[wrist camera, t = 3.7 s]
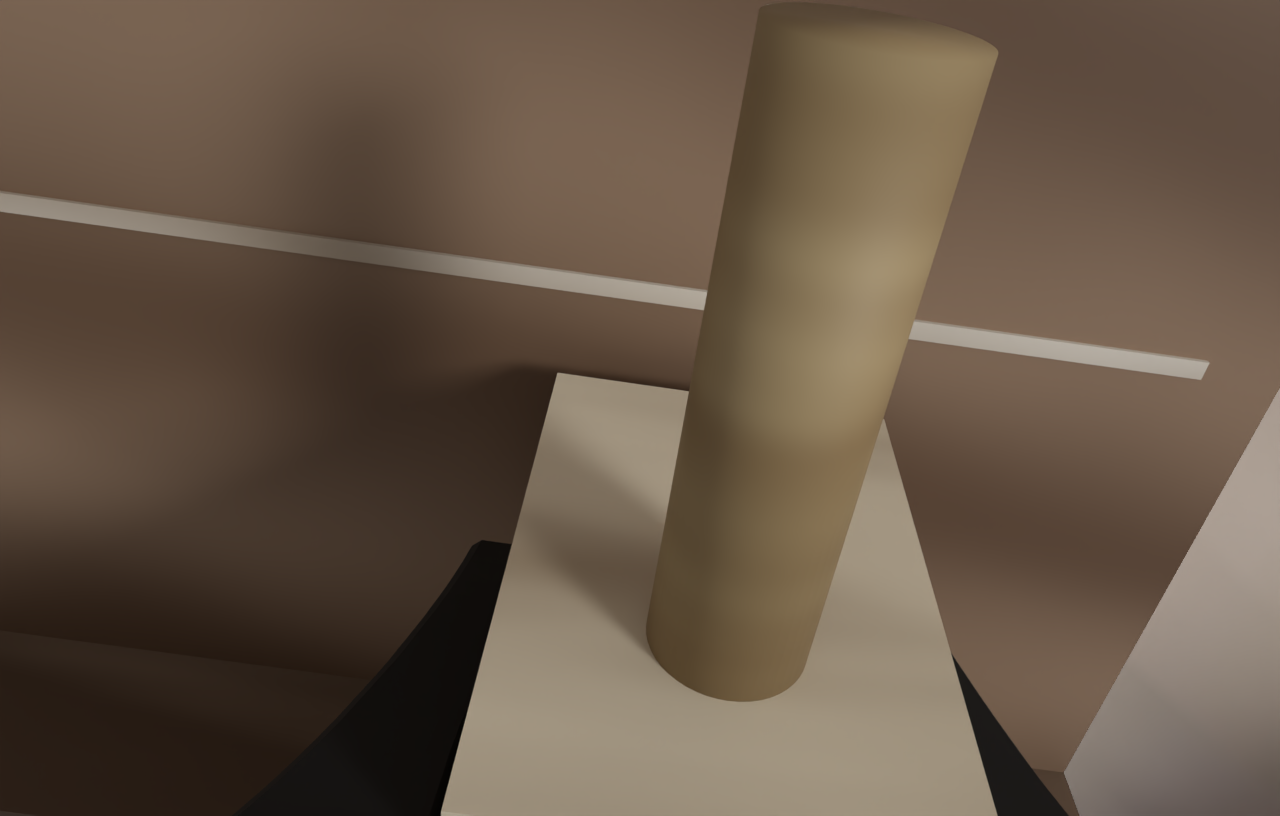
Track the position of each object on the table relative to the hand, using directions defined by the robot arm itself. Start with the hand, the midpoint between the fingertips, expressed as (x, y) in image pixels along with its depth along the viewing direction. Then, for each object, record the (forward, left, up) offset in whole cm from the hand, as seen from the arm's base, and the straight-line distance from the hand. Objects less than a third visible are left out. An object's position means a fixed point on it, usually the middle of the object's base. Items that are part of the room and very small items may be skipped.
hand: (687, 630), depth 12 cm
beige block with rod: (+3, 0, -1) cm, 3 cm away
